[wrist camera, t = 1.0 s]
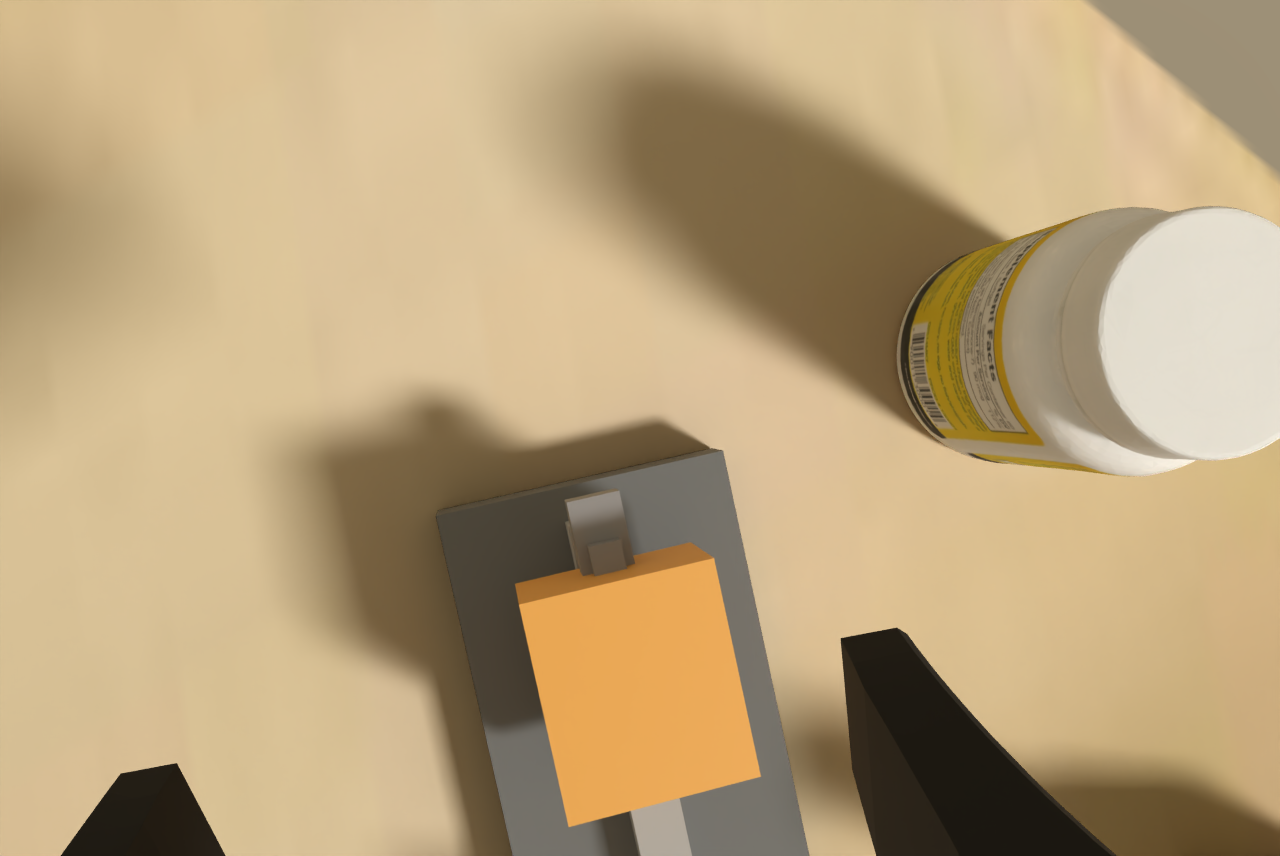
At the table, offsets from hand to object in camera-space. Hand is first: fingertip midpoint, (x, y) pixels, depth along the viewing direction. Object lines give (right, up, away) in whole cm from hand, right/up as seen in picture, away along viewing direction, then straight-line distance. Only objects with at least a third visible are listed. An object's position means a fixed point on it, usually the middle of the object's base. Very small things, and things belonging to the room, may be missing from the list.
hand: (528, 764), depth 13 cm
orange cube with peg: (+1, 0, +10) cm, 10 cm away
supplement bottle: (+9, +5, +14) cm, 18 cm away
